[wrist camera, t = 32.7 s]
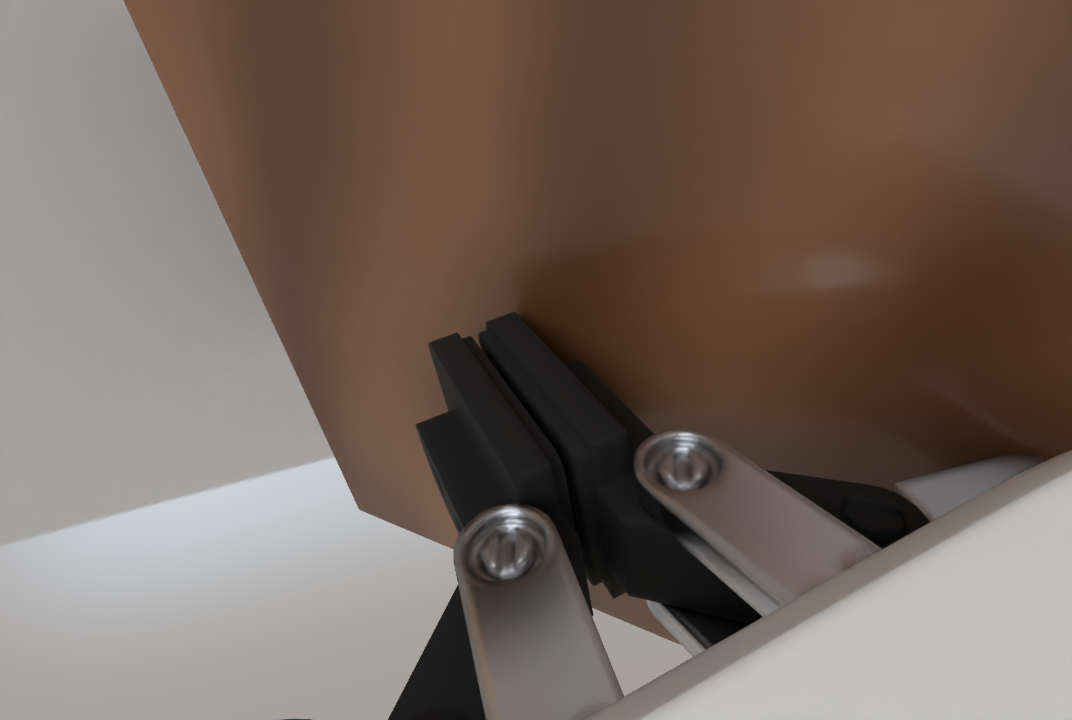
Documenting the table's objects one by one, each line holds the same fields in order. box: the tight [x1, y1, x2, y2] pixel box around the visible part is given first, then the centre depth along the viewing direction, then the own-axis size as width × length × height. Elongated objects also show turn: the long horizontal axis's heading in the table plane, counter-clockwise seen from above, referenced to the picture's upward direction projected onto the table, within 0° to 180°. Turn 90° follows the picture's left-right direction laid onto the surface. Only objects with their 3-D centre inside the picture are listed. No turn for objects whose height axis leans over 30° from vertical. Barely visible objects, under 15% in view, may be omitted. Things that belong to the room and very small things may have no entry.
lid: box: [124, 0, 1072, 645], centre depth 12 cm, size 18×15×1 cm
